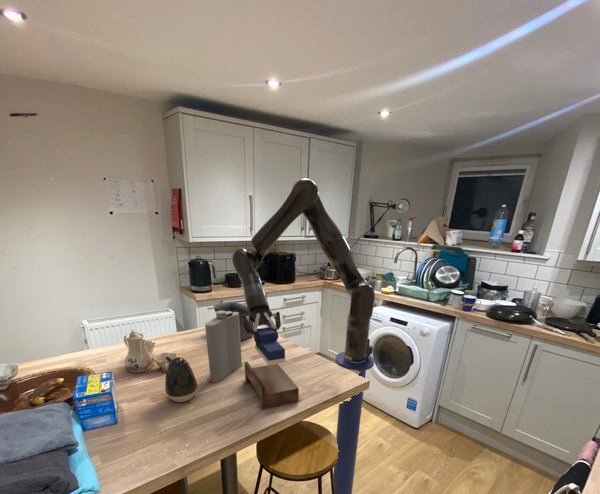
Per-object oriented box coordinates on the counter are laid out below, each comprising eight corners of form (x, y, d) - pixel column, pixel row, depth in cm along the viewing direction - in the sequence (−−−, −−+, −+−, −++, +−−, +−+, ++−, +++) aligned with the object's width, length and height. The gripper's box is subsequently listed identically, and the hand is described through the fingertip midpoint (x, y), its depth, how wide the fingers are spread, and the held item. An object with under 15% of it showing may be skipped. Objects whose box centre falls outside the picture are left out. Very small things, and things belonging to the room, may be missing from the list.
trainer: (255, 348, 119) (254, 329, 116) (271, 346, 122) (270, 327, 119) (268, 365, 108) (267, 343, 105) (285, 362, 110) (285, 341, 107)
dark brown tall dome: (183, 387, 121) (178, 348, 115) (204, 395, 116) (200, 355, 110) (160, 400, 113) (152, 359, 107) (181, 409, 108) (175, 367, 102)
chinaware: (185, 371, 136) (184, 332, 130) (147, 383, 123) (143, 340, 117) (147, 353, 150) (144, 317, 145) (108, 362, 138) (104, 323, 132)
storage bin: (260, 336, 167) (259, 309, 161) (236, 345, 156) (234, 316, 150) (233, 326, 180) (232, 300, 174) (209, 334, 169) (206, 306, 163)
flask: (234, 362, 141) (230, 304, 130) (243, 364, 139) (240, 306, 128) (207, 380, 126) (200, 317, 116) (217, 383, 124) (211, 319, 114)
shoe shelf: (277, 374, 131) (277, 356, 128) (298, 400, 115) (298, 380, 111) (245, 381, 126) (244, 362, 123) (262, 409, 110) (261, 387, 106)
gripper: (237, 295, 114) (249, 340, 109) (277, 291, 119) (289, 334, 114) (234, 306, 120) (245, 348, 115) (272, 302, 126) (284, 343, 121)
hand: (267, 341), depth 115 cm, fingers closed on trainer, 5 cm apart
